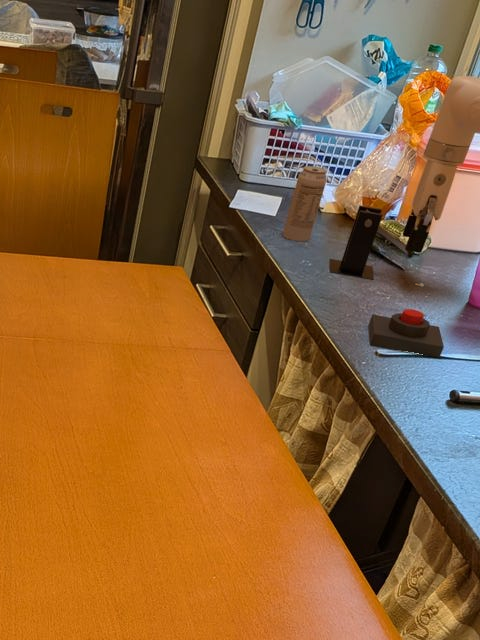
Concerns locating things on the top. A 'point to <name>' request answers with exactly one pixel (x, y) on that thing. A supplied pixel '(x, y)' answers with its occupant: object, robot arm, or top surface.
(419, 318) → the button
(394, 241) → the lever
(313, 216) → the energy drink can
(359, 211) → the bracket
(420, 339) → the control block
